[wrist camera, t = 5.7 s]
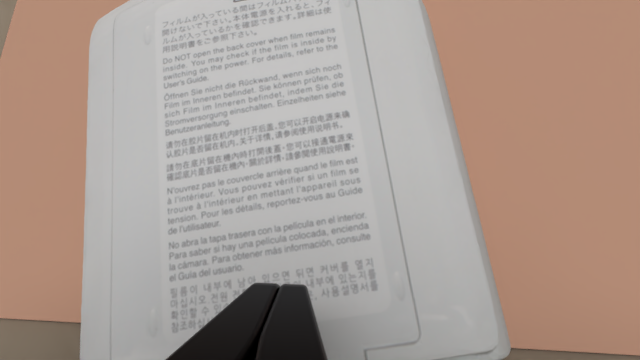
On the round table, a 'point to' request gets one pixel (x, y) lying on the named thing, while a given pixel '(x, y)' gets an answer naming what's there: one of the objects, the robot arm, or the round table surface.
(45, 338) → the round table surface
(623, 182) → the mat
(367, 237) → the photo printer
